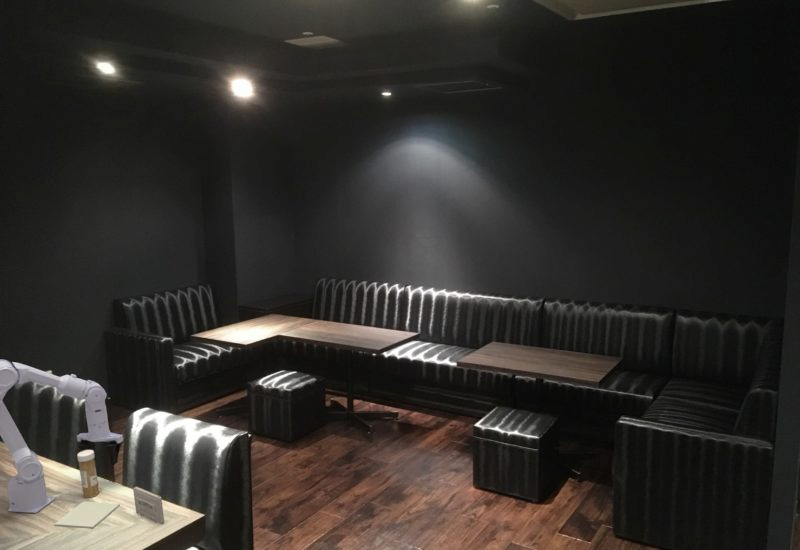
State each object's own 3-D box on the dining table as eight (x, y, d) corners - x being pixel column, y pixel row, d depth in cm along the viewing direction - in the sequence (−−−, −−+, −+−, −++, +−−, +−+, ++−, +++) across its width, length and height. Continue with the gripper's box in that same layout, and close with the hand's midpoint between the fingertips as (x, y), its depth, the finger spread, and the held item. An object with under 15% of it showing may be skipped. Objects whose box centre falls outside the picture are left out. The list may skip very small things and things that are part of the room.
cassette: (134, 513, 185) (131, 488, 183) (140, 510, 186) (137, 485, 185) (160, 525, 178) (157, 499, 177) (166, 522, 179) (163, 496, 178)
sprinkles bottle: (100, 495, 196) (95, 452, 194) (84, 499, 194) (78, 457, 191) (98, 489, 200) (92, 447, 198) (81, 493, 197) (75, 452, 195)
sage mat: (54, 525, 180) (54, 524, 180) (83, 503, 192) (83, 501, 192) (93, 528, 178) (92, 526, 178) (120, 505, 189) (119, 503, 189)
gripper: (126, 417, 202) (132, 458, 205) (85, 415, 205) (91, 456, 208) (112, 426, 196) (118, 468, 198) (69, 425, 198) (76, 466, 201)
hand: (103, 463), depth 202 cm, fingers open, 7 cm apart
